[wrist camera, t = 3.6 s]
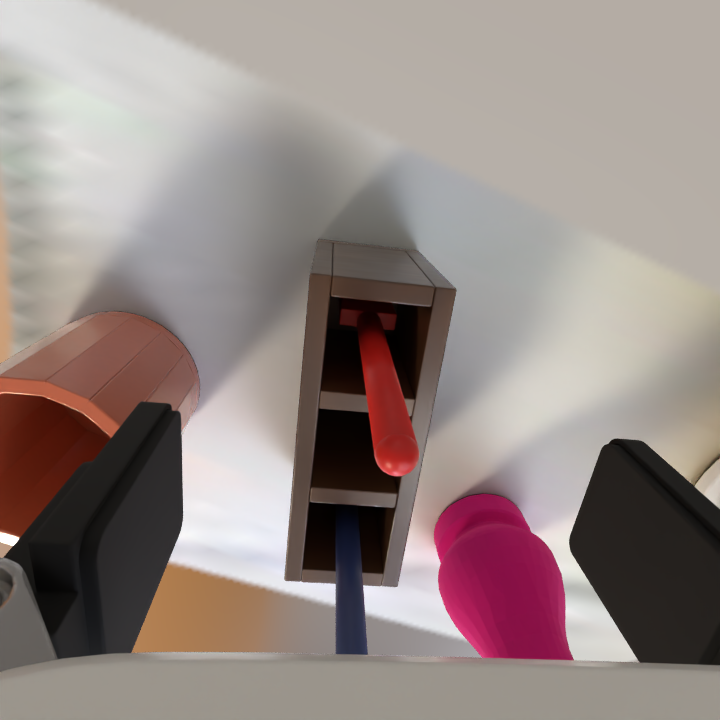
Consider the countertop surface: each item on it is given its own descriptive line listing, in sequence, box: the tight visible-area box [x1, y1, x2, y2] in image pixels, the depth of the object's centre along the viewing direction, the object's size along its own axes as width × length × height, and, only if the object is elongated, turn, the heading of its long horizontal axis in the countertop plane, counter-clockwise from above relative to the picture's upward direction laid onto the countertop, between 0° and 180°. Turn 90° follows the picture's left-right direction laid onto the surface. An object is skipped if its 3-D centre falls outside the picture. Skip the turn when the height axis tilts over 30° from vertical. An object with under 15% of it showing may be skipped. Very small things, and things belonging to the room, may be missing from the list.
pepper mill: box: [434, 494, 574, 660], centre depth 24 cm, size 7×7×20 cm
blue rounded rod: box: [336, 504, 368, 655], centre depth 22 cm, size 3×1×16 cm, turn 83°
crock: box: [0, 311, 200, 546], centre depth 24 cm, size 8×8×9 cm
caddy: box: [284, 239, 457, 587], centre depth 24 cm, size 5×15×9 cm, turn 173°
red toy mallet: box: [339, 297, 419, 476], centre depth 18 cm, size 3×1×16 cm, turn 83°
